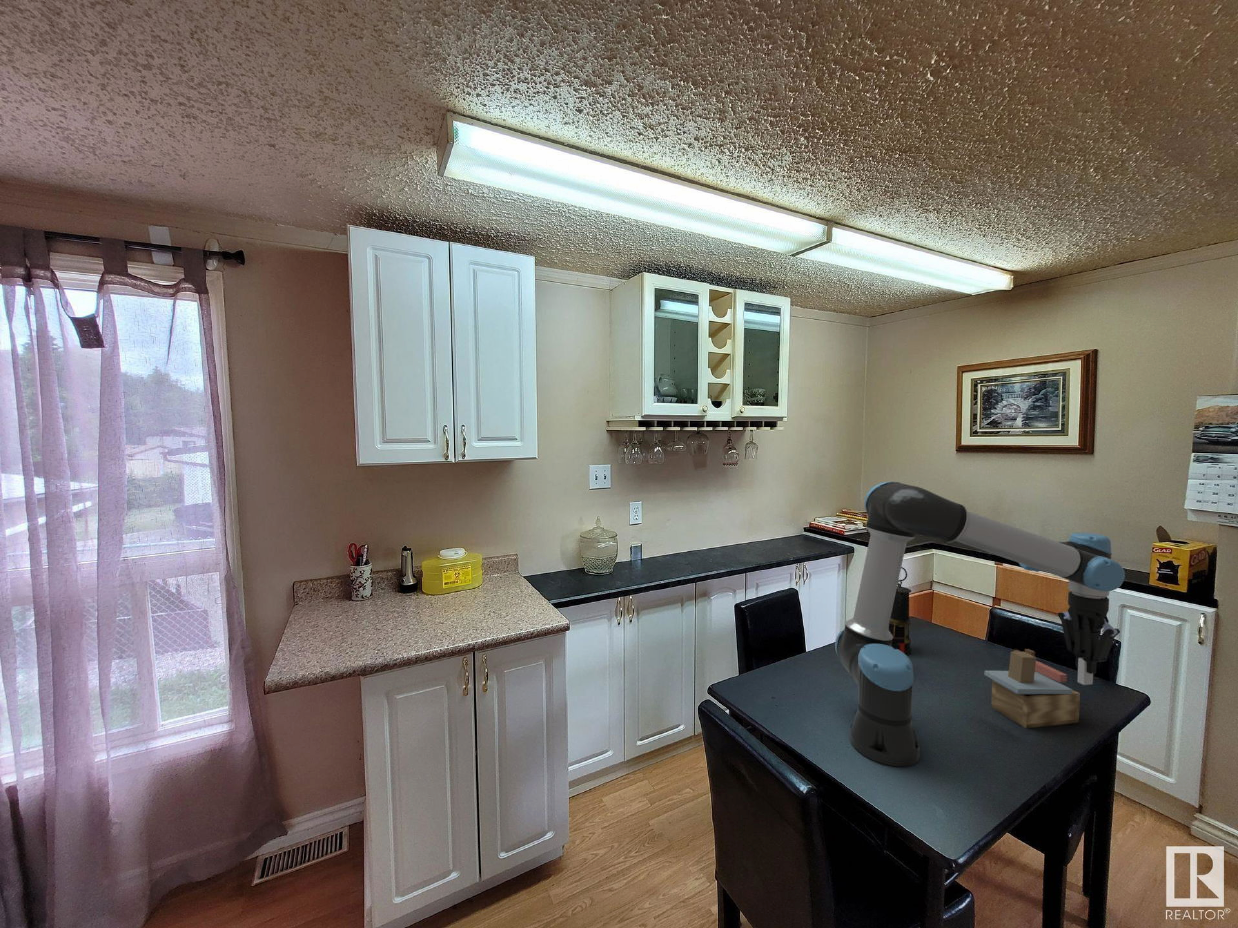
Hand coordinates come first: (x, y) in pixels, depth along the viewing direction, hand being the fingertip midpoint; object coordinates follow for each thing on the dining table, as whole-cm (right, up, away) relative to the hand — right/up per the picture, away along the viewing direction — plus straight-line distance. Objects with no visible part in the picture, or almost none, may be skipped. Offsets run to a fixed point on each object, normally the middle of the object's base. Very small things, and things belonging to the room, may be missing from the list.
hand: (1085, 682), depth 124 cm
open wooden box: (-8, -12, +7) cm, 15 cm away
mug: (-35, -11, +35) cm, 51 cm away
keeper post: (-2, -11, +16) cm, 20 cm away
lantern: (-22, -10, +47) cm, 53 cm away
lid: (-10, -3, +6) cm, 12 cm away
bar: (-2, -2, +12) cm, 12 cm away
